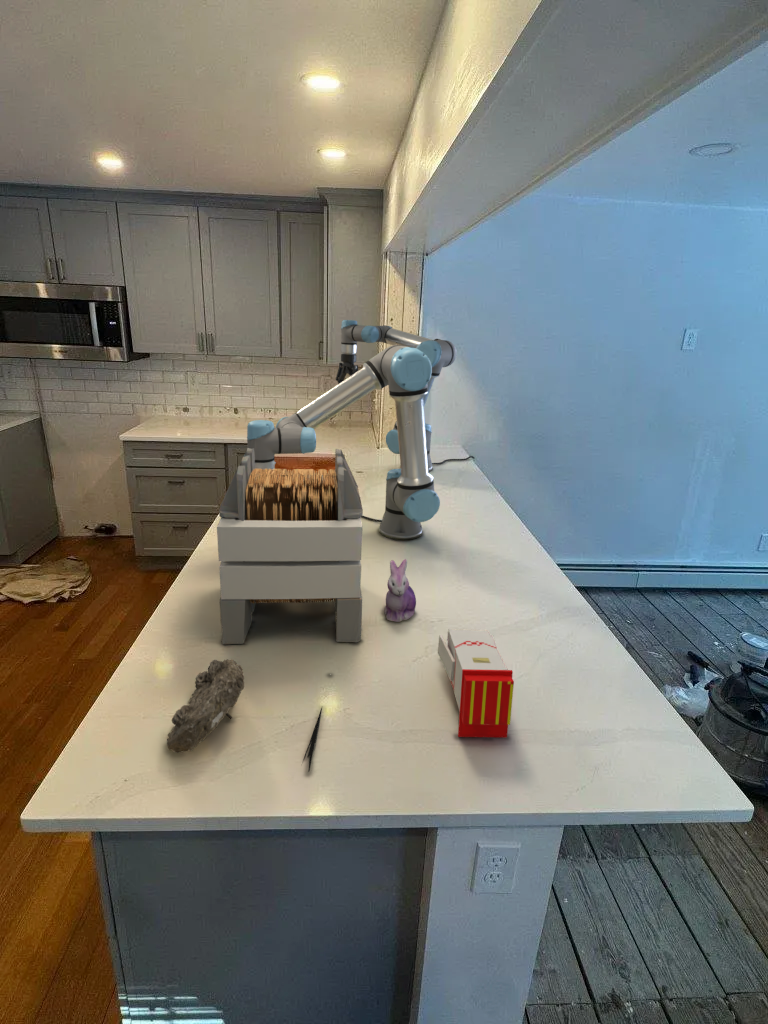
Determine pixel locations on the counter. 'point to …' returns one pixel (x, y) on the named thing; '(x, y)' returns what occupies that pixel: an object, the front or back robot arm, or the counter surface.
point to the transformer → (290, 544)
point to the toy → (478, 682)
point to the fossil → (206, 705)
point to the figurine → (399, 594)
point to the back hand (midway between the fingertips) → (347, 397)
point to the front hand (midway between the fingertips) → (264, 546)
